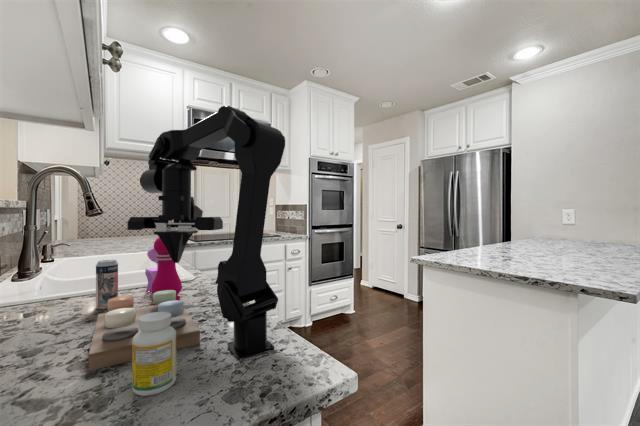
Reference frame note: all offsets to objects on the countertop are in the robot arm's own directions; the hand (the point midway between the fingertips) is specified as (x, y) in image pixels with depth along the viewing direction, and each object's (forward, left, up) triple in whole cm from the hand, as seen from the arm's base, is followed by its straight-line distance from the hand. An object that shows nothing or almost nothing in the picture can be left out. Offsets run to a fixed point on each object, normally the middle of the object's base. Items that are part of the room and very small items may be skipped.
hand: (176, 262), depth 64 cm
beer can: (+23, +13, -14) cm, 30 cm away
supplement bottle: (-24, +6, -14) cm, 28 cm away
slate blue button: (-8, +2, -9) cm, 12 cm away
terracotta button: (+2, +10, -9) cm, 13 cm away
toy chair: (+31, 0, -14) cm, 34 cm away
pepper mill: (+16, 0, -14) cm, 21 cm away
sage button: (+2, +2, -9) cm, 9 cm away
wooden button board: (-3, +6, -13) cm, 15 cm away
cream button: (-8, +10, -9) cm, 15 cm away
